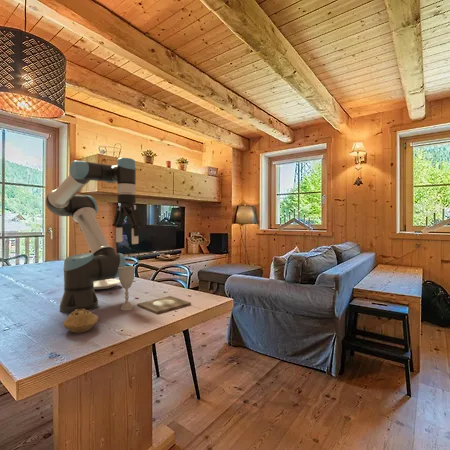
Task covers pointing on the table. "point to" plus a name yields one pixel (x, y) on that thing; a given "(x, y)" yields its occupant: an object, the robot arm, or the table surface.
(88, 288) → the robot arm
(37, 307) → the table surface
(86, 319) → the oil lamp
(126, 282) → the chalice
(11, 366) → the table surface
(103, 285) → the candlestick
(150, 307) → the board
